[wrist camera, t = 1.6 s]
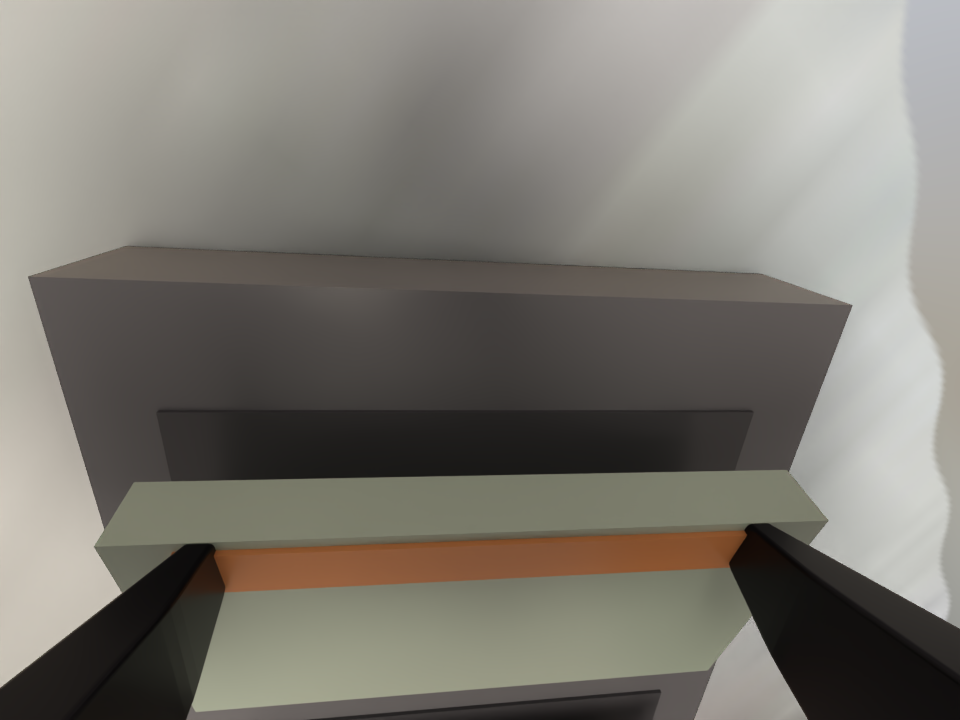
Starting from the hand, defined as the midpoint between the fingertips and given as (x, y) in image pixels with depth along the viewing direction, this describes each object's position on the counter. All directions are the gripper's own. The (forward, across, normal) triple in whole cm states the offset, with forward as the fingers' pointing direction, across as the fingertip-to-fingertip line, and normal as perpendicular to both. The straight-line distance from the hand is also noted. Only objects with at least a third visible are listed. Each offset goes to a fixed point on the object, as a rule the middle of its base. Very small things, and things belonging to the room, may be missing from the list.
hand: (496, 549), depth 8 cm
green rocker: (+2, 0, +2) cm, 3 cm away
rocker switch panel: (+6, 0, +6) cm, 8 cm away
